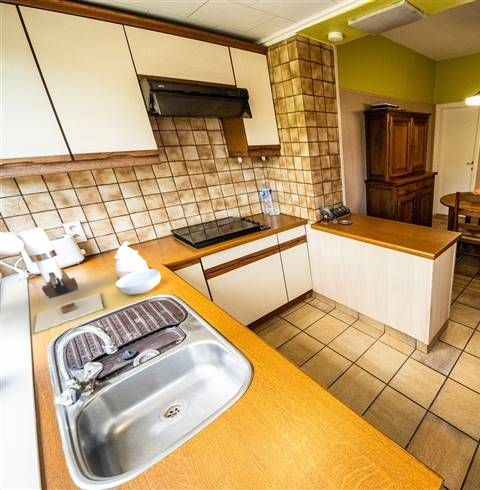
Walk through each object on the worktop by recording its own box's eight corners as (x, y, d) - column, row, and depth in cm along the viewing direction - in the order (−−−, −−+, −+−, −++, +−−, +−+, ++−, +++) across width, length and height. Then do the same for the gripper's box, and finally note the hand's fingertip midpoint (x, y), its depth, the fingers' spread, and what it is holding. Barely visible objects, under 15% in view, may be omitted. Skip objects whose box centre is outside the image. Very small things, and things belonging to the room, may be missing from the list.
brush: (48, 299, 117) (41, 288, 115) (48, 296, 120) (42, 286, 118) (79, 289, 124) (74, 279, 122) (79, 287, 126) (74, 277, 124)
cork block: (63, 314, 113) (61, 310, 112) (63, 310, 115) (61, 306, 114) (76, 309, 115) (74, 305, 114) (76, 306, 118) (74, 302, 117)
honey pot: (141, 266, 154) (128, 237, 147) (153, 270, 149) (141, 240, 142) (114, 276, 144) (99, 246, 137) (126, 281, 138) (111, 250, 131)
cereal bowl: (112, 297, 125) (106, 284, 122) (148, 279, 139) (143, 267, 137) (138, 302, 120) (131, 288, 117) (172, 283, 135) (167, 270, 132)
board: (35, 333, 104) (34, 331, 103) (38, 315, 114) (37, 313, 114) (103, 308, 117) (102, 306, 116) (100, 294, 128) (99, 292, 127)
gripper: (31, 253, 117) (52, 289, 124) (28, 264, 107) (50, 302, 114) (56, 248, 122) (74, 282, 129) (55, 258, 112) (75, 294, 119)
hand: (63, 291), depth 122 cm, fingers closed on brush, 3 cm apart
